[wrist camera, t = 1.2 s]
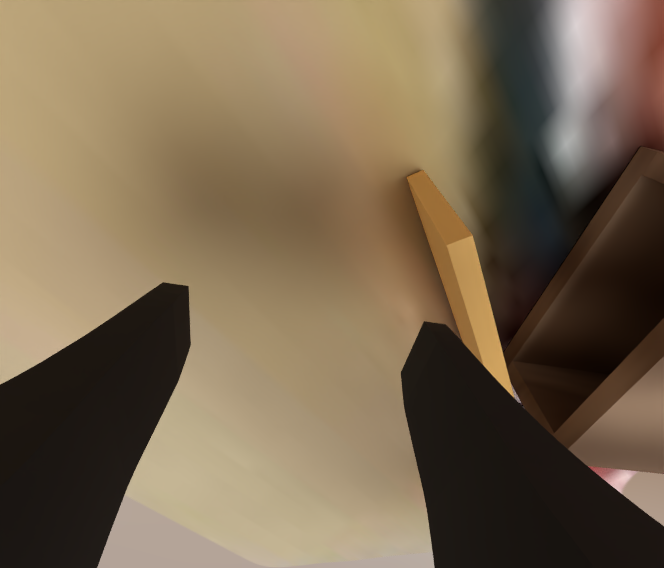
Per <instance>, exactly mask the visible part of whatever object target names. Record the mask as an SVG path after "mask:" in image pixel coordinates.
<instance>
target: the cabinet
mask: <svg viewBox="0 0 664 568" xmlns="http://www.w3.org/2000/svg"><path fill="white" fill-rule="evenodd" d="M503 356H504V359H505V363H506V367H507V371H508V375H509V379H510V382H511V384H512V386H513V388H514V389H515V391H516V393H517V395H518V397H519V399H520V401H521V402H522V404H523V406H524V408H525V409H526V410H527V411H528V412H529V413H530V414H531V415H532V416H533V417H534V418H535V419H536V420H537V421H538V422H539V423H540V424H541V425H542V426H543V427H544V428H545V429H546V430H547V431H548V432H549V433H550V434H551V435H553V436H554V437H555V438H556V439H557V440H558V441H559V442H560V443H561V444H563V445H564V446H565V447H566V448H567V449H568V450H569V451H571V452H572V453H573V454H574V455H575V456H576V457H577V458H579V459H580V460H581V461H582V462H583V463H584V464H585V465H587V466H593V467H602V468H612V469H622V470H632V471H641V472H652V473H661V474H664V152H663V151H659V150H655V149H650V148H646V147H642V146H641V147H640V148H639V150H638V151H637V153H636V154H635V156H634V157H633V159H632V160H631V162H630V163H629V165H628V166H627V168H626V169H625V171H624V172H623V174H622V175H621V177H620V178H619V180H618V181H617V183H616V184H615V186H614V187H613V189H612V190H611V192H610V193H609V195H608V196H607V198H606V199H605V201H604V202H603V204H602V205H601V207H600V208H599V210H598V211H597V213H596V214H595V216H594V217H593V219H592V220H591V222H590V223H589V225H588V226H587V228H586V229H585V231H584V232H583V234H582V235H581V237H580V238H579V240H578V241H577V243H576V244H575V246H574V247H573V249H572V250H571V252H570V253H569V255H568V256H567V258H566V259H565V261H564V262H563V264H562V265H561V267H560V268H559V270H558V271H557V273H556V274H555V276H554V277H553V279H552V280H551V282H550V283H549V285H548V286H547V288H546V289H545V291H544V292H543V294H542V295H541V297H540V298H539V300H538V301H537V303H536V304H535V306H534V307H533V309H532V310H531V312H530V313H529V315H528V316H527V318H526V319H525V321H524V322H523V324H522V325H521V327H520V328H519V330H518V331H517V333H516V335H515V336H514V338H513V339H512V341H511V342H510V344H509V345H508V347H507V348H506V350H505V351H504V353H503Z"/></svg>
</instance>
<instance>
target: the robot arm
mask: <svg viewBox="0 0 664 568" xmlns="http://www.w3.org/2000/svg"><path fill="white" fill-rule="evenodd" d="M190 346H191V342H190V315H189V288H188V286H183V285H177V284H170V283H162V284H160V285H159V286H157V287H156V288H154V289H153V290H151V291H150V292H148V293H147V294H145V295H144V296H142V297H141V298H140V299H138V300H137V301H135V302H134V303H132V304H131V305H130V306H128V307H127V308H125V309H124V310H122V311H121V312H119V313H118V314H117V315H115V316H114V317H112V318H111V319H109V320H108V321H106V322H105V323H103V324H102V325H100V326H99V327H97V328H96V329H94V330H93V331H91V332H90V333H88V334H86V335H85V336H83V337H82V338H80V339H79V340H77V341H75V342H74V343H72V344H70V345H69V346H67V347H65V348H64V349H62V350H60V351H59V352H57V353H56V354H54V355H52V356H51V357H49V358H47V359H46V360H44V361H42V362H41V363H39V364H37V365H36V366H34V367H32V368H30V369H28V370H27V371H25V372H23V373H21V374H19V375H18V376H16V377H14V378H12V379H10V380H8V381H6V382H5V383H3V384H1V385H0V568H97V566H98V564H99V561H100V558H101V555H102V553H103V550H104V547H105V545H106V542H107V539H108V536H109V534H110V531H111V528H112V525H113V523H114V521H115V518H116V515H117V513H118V510H119V507H120V505H121V502H122V500H123V497H124V495H125V492H126V489H127V487H128V485H129V482H130V480H131V478H132V476H133V473H134V471H135V469H136V467H137V464H138V462H139V460H140V458H141V456H142V454H143V452H144V450H145V448H146V446H147V444H148V442H149V440H150V438H151V436H152V434H153V432H154V430H155V428H156V426H157V424H158V422H159V420H160V418H161V416H162V414H163V412H164V410H165V408H166V405H167V403H168V401H169V399H170V397H171V395H172V393H173V391H174V389H175V387H176V385H177V383H178V380H179V378H180V375H181V372H182V369H183V366H184V364H185V361H186V358H187V355H188V352H189V349H190ZM401 379H402V391H403V400H404V408H405V413H406V418H407V422H408V427H409V431H410V436H411V440H412V444H413V448H414V453H415V457H416V461H417V466H418V470H419V474H420V479H421V483H422V487H423V492H424V497H425V502H426V507H427V513H428V520H429V528H430V535H431V542H432V550H433V557H434V566H435V568H664V526H663V525H661V524H660V523H659V522H657V521H656V520H655V519H653V518H652V517H650V516H649V515H648V514H647V513H645V512H644V511H643V510H641V509H640V508H639V507H638V506H636V505H635V504H634V503H632V502H631V501H630V500H629V499H627V498H626V497H625V496H624V495H622V494H621V493H620V492H618V491H617V490H616V489H615V488H613V487H612V486H611V485H610V484H608V483H607V482H606V481H605V480H603V479H602V478H601V477H600V476H599V475H597V474H596V473H595V472H594V471H592V470H591V469H590V468H589V467H588V466H587V465H585V464H584V463H583V462H582V461H581V460H580V459H579V458H577V457H576V456H575V455H574V454H573V453H572V452H571V451H569V450H568V449H567V448H566V447H565V446H564V445H563V444H561V443H560V442H559V441H558V440H557V439H556V438H555V437H554V436H553V435H551V434H550V433H549V432H548V431H547V430H546V429H545V428H544V427H543V426H542V425H541V424H540V423H539V422H538V421H537V420H536V419H535V418H534V417H533V416H532V415H531V414H530V413H529V412H528V411H527V410H526V409H525V408H524V406H521V405H520V404H519V403H518V402H517V400H516V399H515V398H514V397H513V396H512V395H511V394H510V393H509V392H508V391H507V390H506V389H505V388H504V387H503V386H502V385H501V384H500V383H499V382H498V381H497V380H496V378H495V377H494V376H493V375H492V374H491V373H490V372H489V371H488V370H487V369H486V368H485V367H484V365H483V364H482V363H481V362H480V361H479V360H478V359H477V358H476V357H475V356H474V354H473V353H472V352H471V351H470V350H469V349H468V348H467V347H466V346H465V345H464V343H463V342H462V341H461V340H460V339H459V338H458V337H457V336H456V335H455V334H454V333H453V332H452V331H451V330H450V329H449V328H448V327H447V326H446V325H445V324H438V323H431V322H425V321H424V323H423V325H422V327H421V329H420V332H419V334H418V336H417V338H416V340H415V343H414V345H413V347H412V349H411V351H410V354H409V356H408V358H407V360H406V362H405V365H404V367H403V369H402V371H401Z"/></svg>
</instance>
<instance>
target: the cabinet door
mask: <svg viewBox="0 0 664 568" xmlns="http://www.w3.org/2000/svg"><path fill="white" fill-rule="evenodd" d="M407 180H408V183H409V186H410V189H411V192H412V195H413V198H414V201H415V204H416V207H417V210H418V212H419V215H420V218H421V221H422V224H423V227H424V230H425V233H426V236H427V239H428V242H429V245H430V248H431V251H432V254H433V257H434V259H435V262H436V265H437V268H438V271H439V274H440V277H441V280H442V283H443V286H444V289H445V292H446V295H447V298H448V301H449V303H450V306H451V309H452V312H453V315H454V318H455V321H456V324H457V327H458V330H459V333H460V336H461V339H462V342H463V343H464V345H465V346H466V347H467V348H468V349H469V350H470V351H471V352H472V353H473V354H474V356H475V357H476V358H477V359H478V360H479V361H480V362H481V363H482V364H483V365H484V367H485V368H486V369H487V370H488V371H489V372H490V373H491V374H492V375H493V376H494V377H495V378H496V380H497V381H498V382H499V383H500V384H501V385H502V386H503V387H504V388H505V389H506V390H507V391H508V392H509V393H510V394H511V395H512V396H513V397H514V394H513V391H512V387H511V383H510V379H509V375H508V371H507V367H506V363H505V359H504V356H503V352H502V348H501V344H500V340H499V336H498V332H497V328H496V324H495V321H494V317H493V313H492V309H491V305H490V301H489V297H488V293H487V289H486V286H485V282H484V278H483V274H482V270H481V266H480V262H479V258H478V254H477V251H476V247H475V243H474V239H473V235H472V234H471V233H470V231H469V230H468V229H467V227H466V226H465V225H464V223H463V222H462V221H461V219H460V218H459V217H458V215H457V214H456V213H455V211H454V210H453V209H452V207H451V206H450V205H449V203H448V202H447V201H446V199H445V198H444V197H443V195H442V194H441V193H440V191H439V190H438V189H437V188H436V186H435V185H434V184H433V182H432V181H431V180H430V178H429V177H428V176H427V174H426V173H425V172H424V170H422V171H420V172H417V173H415V174H413V175H410V176H408V177H407Z"/></svg>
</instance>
